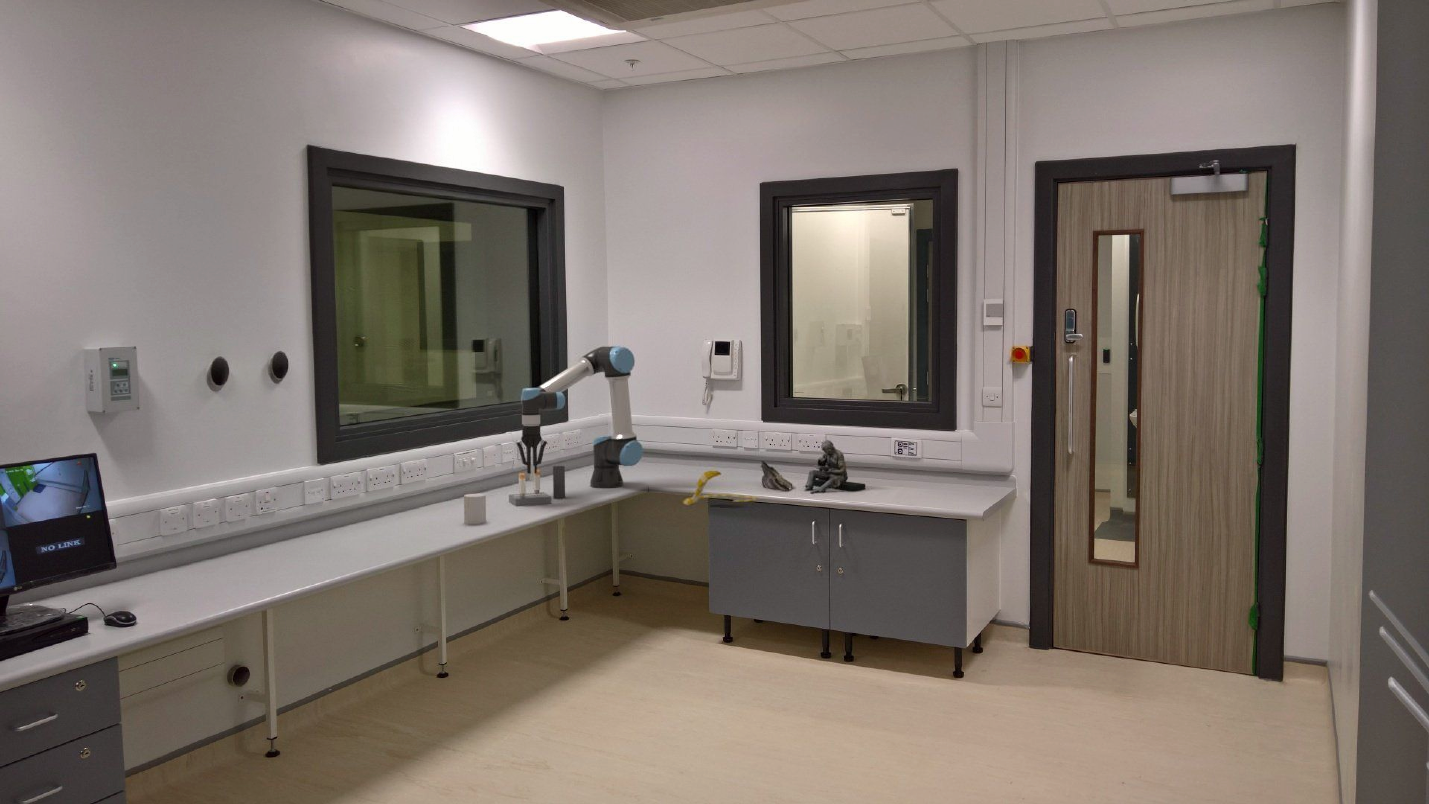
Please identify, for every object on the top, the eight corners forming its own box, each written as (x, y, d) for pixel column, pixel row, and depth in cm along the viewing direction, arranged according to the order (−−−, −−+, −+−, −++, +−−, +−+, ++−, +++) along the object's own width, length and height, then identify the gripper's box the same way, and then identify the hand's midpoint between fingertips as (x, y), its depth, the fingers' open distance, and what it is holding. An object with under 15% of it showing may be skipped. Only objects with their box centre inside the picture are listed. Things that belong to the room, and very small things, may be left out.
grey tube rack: (543, 499, 433) (543, 491, 433) (551, 503, 421) (551, 495, 421) (509, 501, 427) (508, 493, 427) (515, 506, 415) (515, 498, 415)
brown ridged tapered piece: (751, 455, 443) (764, 460, 470) (738, 471, 444) (753, 476, 470) (790, 484, 437) (802, 489, 463) (778, 501, 437) (790, 505, 464)
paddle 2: (538, 491, 432) (537, 469, 431) (540, 493, 428) (540, 471, 427) (533, 492, 431) (532, 470, 430) (535, 493, 427) (535, 471, 426)
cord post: (563, 497, 438) (562, 465, 437) (566, 499, 433) (565, 466, 432) (552, 498, 436) (551, 466, 435) (555, 499, 431) (554, 467, 430)
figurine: (786, 494, 443) (786, 440, 442) (822, 488, 460) (822, 436, 458) (829, 500, 425) (829, 444, 423) (865, 494, 441) (865, 440, 440)
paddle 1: (523, 495, 421) (523, 473, 421) (526, 497, 417) (525, 474, 417) (518, 496, 421) (518, 473, 420) (521, 497, 417) (520, 474, 416)
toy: (734, 511, 400) (733, 473, 399) (673, 506, 412) (672, 470, 411) (762, 500, 427) (762, 465, 426) (704, 496, 439) (704, 462, 438)
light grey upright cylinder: (466, 524, 391) (465, 493, 390) (487, 524, 391) (487, 493, 391) (462, 528, 383) (462, 497, 382) (484, 527, 383) (484, 496, 383)
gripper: (544, 423, 425) (545, 479, 426) (513, 425, 420) (514, 481, 421) (548, 425, 418) (549, 481, 419) (517, 426, 413) (518, 483, 414)
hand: (532, 481), depth 420 cm, fingers closed
